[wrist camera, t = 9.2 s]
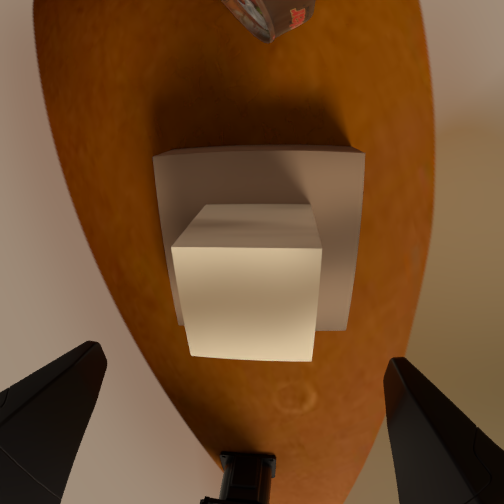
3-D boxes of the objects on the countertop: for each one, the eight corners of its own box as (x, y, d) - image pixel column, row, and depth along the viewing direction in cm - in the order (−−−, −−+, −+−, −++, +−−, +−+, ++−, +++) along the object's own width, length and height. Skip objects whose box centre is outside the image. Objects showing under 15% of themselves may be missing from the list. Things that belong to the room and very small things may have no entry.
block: (306, 295, 16) (311, 361, 12) (214, 292, 17) (191, 355, 12) (310, 204, 14) (322, 248, 10) (205, 204, 15) (170, 246, 10)
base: (339, 301, 20) (345, 330, 17) (191, 298, 21) (178, 325, 18) (351, 146, 16) (365, 153, 13) (173, 149, 17) (152, 156, 14)
